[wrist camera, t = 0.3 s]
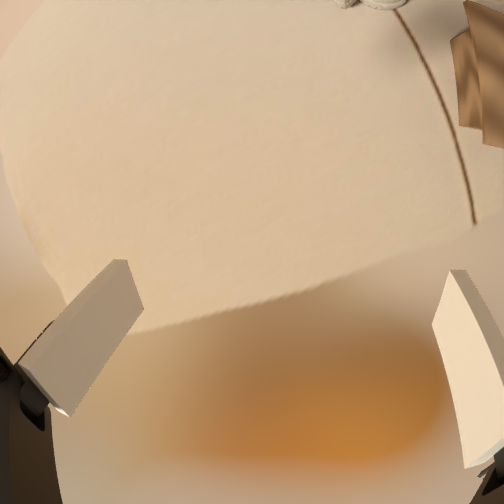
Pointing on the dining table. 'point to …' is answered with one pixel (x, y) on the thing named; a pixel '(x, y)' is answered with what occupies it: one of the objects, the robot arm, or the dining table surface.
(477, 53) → the walnut stand
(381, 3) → the mug
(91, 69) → the dining table surface
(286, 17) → the dining table surface
